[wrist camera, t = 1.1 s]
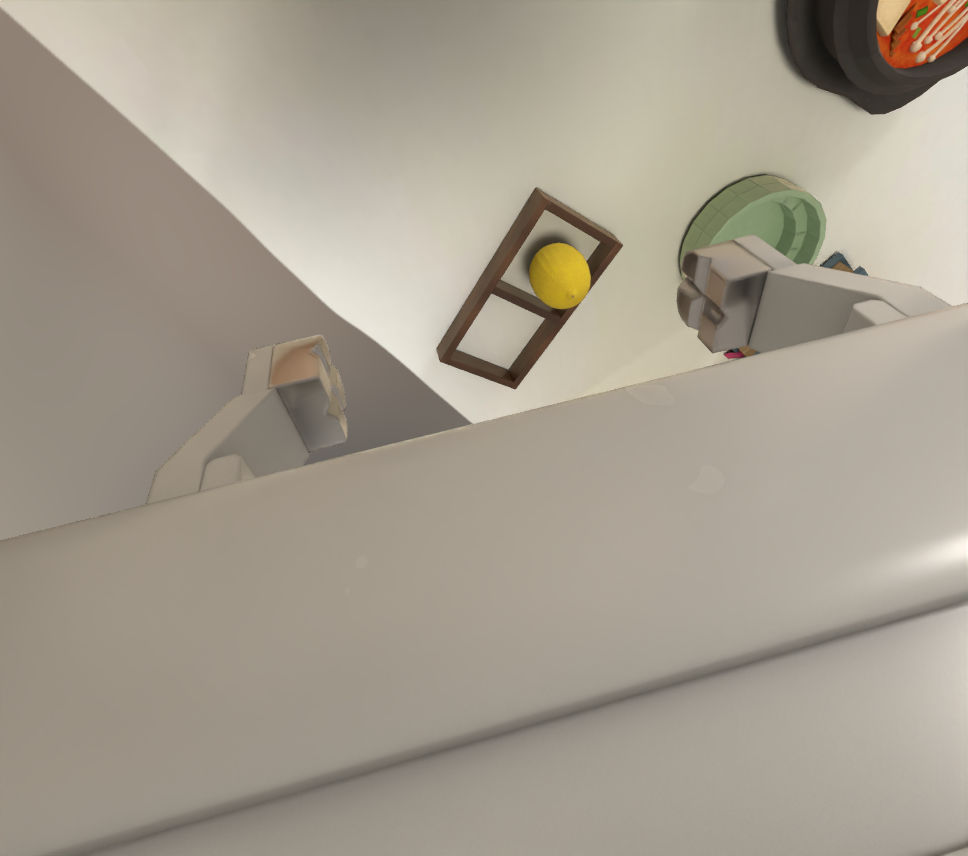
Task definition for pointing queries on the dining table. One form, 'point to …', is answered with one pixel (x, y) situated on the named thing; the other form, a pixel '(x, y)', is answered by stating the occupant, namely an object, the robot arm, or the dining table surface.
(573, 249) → the lemon
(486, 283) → the lemon stand
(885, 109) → the casserole
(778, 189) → the bowl
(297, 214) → the dining table surface
